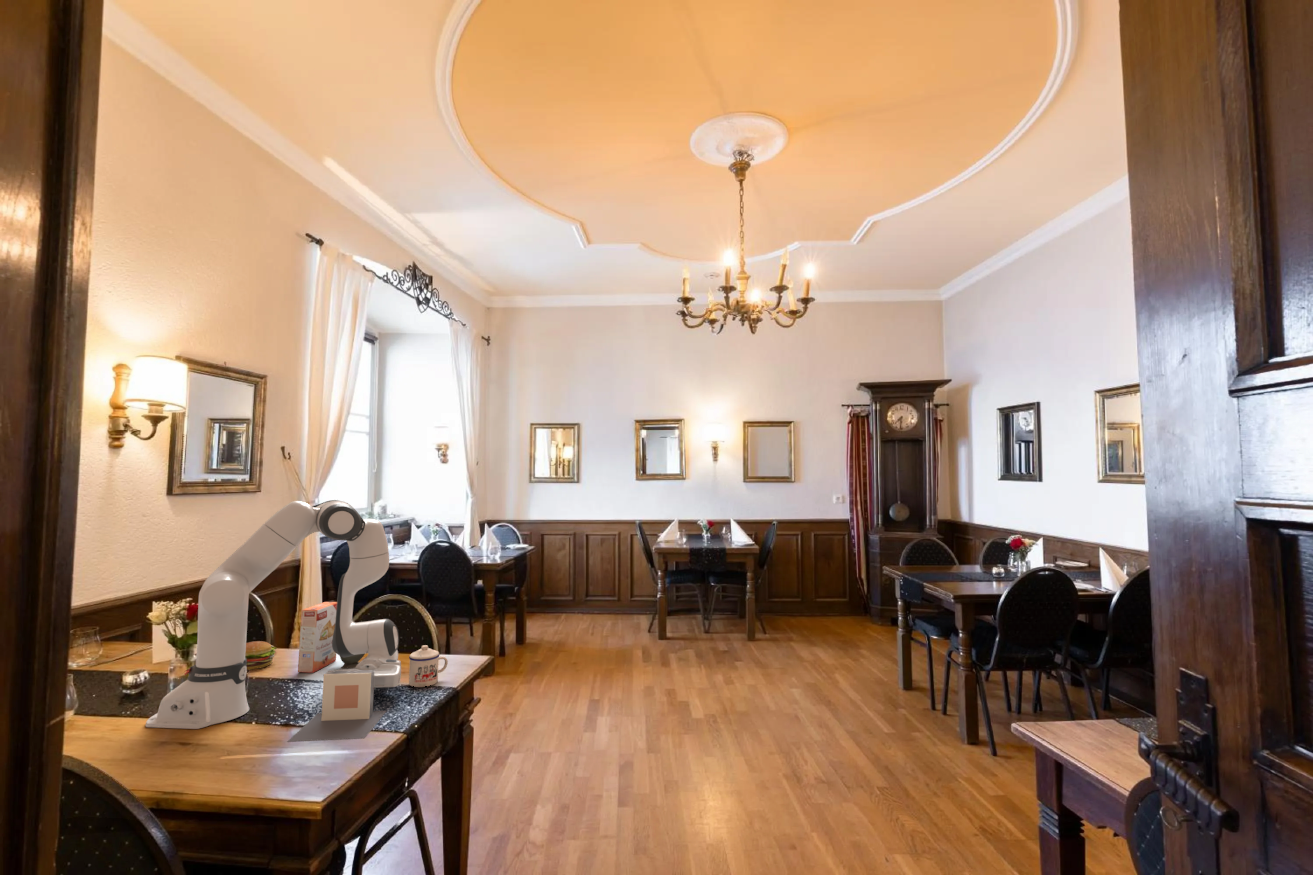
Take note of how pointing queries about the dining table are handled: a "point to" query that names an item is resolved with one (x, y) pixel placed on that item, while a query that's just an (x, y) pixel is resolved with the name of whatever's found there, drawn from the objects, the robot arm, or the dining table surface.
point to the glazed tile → (348, 695)
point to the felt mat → (336, 728)
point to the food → (259, 654)
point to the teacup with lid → (424, 667)
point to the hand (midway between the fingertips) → (354, 687)
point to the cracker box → (317, 637)
